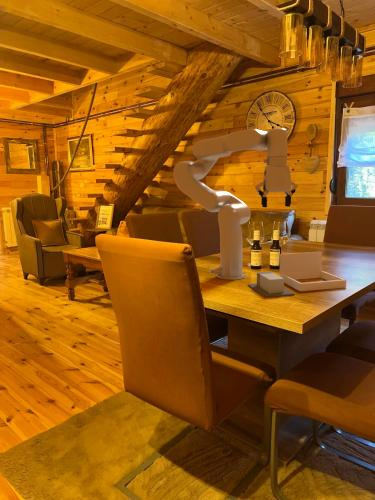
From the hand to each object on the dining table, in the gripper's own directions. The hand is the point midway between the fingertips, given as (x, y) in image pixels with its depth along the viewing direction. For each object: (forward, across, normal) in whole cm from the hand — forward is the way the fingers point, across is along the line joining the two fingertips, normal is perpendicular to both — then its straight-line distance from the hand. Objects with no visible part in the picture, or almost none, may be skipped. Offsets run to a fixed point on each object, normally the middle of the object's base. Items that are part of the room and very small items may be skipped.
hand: (276, 206), depth 146 cm
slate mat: (+30, -7, -11) cm, 33 cm away
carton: (+30, +12, -7) cm, 33 cm away
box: (+30, -7, -11) cm, 32 cm away
